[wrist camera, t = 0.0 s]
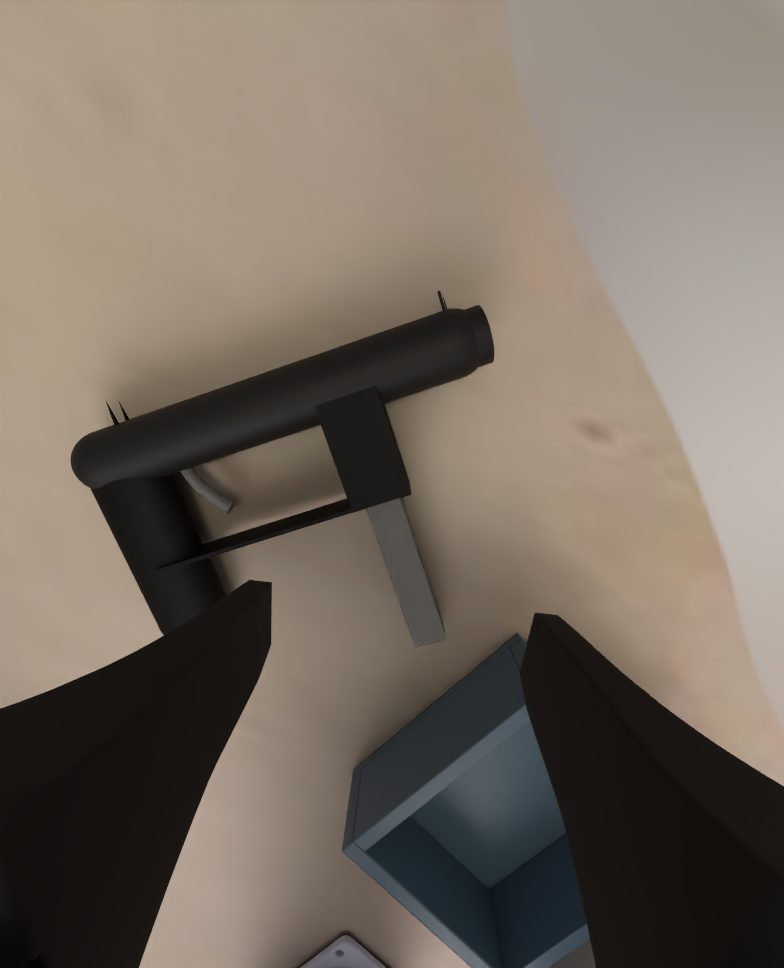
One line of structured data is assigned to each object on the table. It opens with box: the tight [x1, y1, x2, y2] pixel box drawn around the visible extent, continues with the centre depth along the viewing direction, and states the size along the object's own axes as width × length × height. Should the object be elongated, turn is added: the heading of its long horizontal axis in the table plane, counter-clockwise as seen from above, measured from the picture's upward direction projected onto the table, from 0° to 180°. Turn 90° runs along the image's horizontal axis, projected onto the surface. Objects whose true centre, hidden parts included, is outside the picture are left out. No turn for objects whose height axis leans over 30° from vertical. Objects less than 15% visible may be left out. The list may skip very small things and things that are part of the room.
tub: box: [342, 634, 590, 968], centre depth 22 cm, size 13×12×5 cm
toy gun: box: [71, 291, 494, 648], centre depth 20 cm, size 3×20×16 cm
